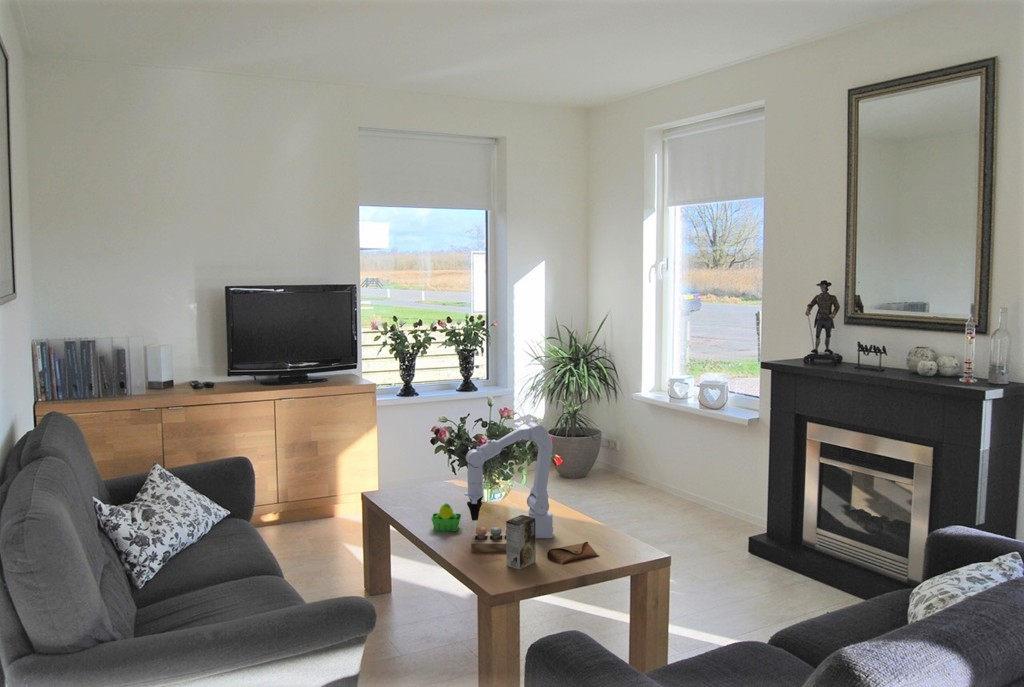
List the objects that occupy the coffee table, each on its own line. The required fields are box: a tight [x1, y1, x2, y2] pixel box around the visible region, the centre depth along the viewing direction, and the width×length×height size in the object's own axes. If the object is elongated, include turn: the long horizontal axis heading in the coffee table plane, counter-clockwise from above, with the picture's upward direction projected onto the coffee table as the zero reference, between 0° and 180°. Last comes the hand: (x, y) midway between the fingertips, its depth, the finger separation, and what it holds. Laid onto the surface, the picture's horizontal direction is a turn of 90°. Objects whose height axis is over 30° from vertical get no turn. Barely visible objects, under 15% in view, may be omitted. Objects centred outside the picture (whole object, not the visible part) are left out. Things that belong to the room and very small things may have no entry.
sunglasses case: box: [546, 541, 600, 566], centre depth 290 cm, size 18×7×7 cm, turn 122°
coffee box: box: [505, 514, 537, 570], centre depth 282 cm, size 9×6×16 cm
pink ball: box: [475, 526, 488, 540], centre depth 301 cm, size 4×4×4 cm
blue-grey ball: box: [490, 526, 502, 540], centre depth 301 cm, size 4×4×4 cm
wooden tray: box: [470, 531, 507, 553], centre depth 302 cm, size 18×13×3 cm
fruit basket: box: [430, 502, 462, 532], centre depth 320 cm, size 11×9×11 cm
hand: (475, 517), depth 305 cm, fingers open, 7 cm apart
